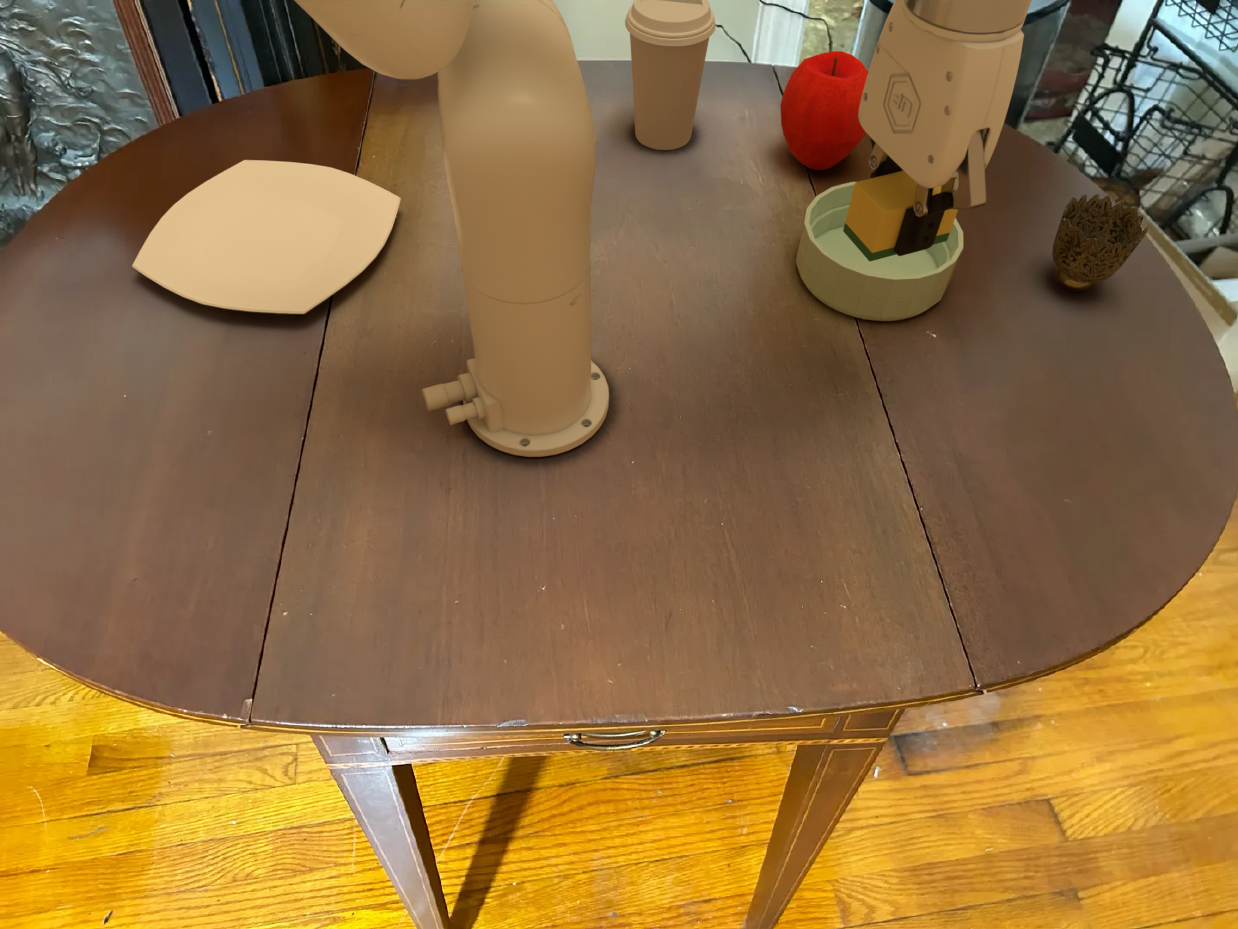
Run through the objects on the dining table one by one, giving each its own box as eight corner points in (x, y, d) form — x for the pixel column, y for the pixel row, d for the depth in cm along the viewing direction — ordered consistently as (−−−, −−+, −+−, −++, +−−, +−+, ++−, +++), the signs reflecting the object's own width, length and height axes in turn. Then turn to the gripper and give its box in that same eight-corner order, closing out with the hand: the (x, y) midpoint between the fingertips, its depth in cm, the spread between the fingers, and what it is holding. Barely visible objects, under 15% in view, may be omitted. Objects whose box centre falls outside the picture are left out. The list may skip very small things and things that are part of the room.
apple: (788, 127, 107) (807, 24, 98) (869, 149, 105) (897, 45, 95) (759, 170, 102) (776, 66, 92) (844, 195, 99) (870, 90, 90)
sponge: (869, 261, 69) (883, 212, 66) (842, 231, 71) (855, 181, 68) (947, 241, 71) (965, 191, 67) (918, 211, 73) (934, 162, 69)
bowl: (846, 340, 85) (859, 295, 81) (768, 245, 94) (776, 200, 89) (976, 300, 89) (996, 255, 85) (890, 212, 97) (904, 168, 93)
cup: (1114, 313, 88) (1154, 247, 82) (1036, 302, 89) (1070, 235, 83) (1105, 265, 93) (1142, 198, 86) (1030, 254, 94) (1062, 187, 87)
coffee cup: (718, 128, 107) (733, -3, 95) (678, 167, 102) (689, 34, 90) (649, 103, 110) (655, -26, 98) (606, 140, 105) (607, 8, 93)
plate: (243, 160, 101) (238, 144, 99) (432, 205, 96) (429, 189, 95) (105, 289, 87) (96, 273, 86) (317, 349, 83) (312, 333, 81)
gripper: (847, -56, 60) (801, 182, 75) (1001, 66, 51) (913, 312, 65) (943, -73, 62) (879, 163, 76) (1109, 42, 52) (1000, 287, 67)
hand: (896, 229), depth 71 cm, fingers closed on sponge, 4 cm apart
